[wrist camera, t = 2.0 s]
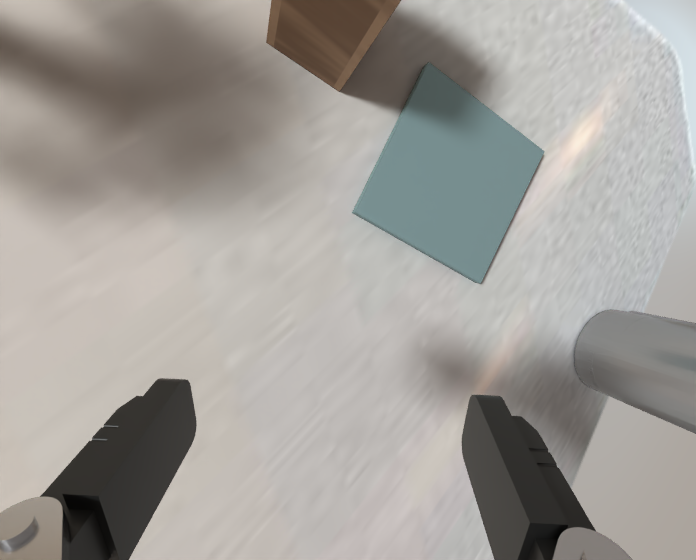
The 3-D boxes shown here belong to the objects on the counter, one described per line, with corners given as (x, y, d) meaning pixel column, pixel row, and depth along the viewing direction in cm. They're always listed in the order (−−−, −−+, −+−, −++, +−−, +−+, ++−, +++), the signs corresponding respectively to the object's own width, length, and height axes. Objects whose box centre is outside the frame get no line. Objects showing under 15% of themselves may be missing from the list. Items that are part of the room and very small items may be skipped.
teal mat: (424, 66, 31) (428, 62, 30) (537, 153, 35) (544, 151, 34) (352, 212, 31) (354, 212, 30) (475, 282, 35) (480, 283, 34)
